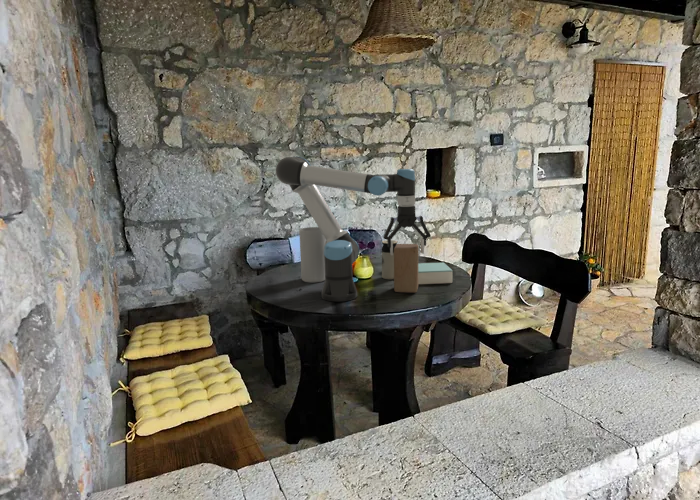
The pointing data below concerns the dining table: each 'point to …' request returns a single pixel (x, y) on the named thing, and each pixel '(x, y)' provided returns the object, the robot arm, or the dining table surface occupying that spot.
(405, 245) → the wooden block
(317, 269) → the cylinder vase
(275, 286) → the dining table surface
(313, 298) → the dining table surface
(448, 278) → the base brick
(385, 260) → the travel mug
